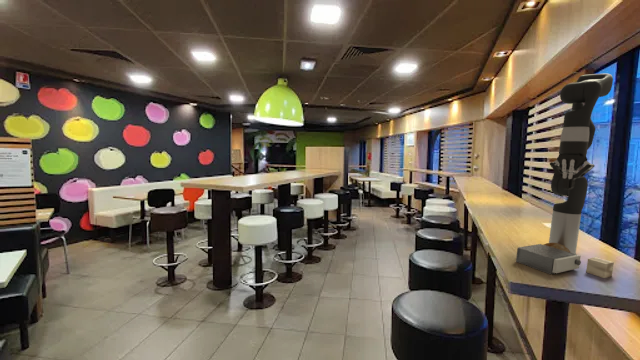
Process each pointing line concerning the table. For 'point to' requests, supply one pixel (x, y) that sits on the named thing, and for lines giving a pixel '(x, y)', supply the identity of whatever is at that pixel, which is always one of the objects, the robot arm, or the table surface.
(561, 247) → the bread roll
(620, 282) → the table surface
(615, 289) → the table surface
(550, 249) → the player housing
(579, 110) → the robot arm
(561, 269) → the tray
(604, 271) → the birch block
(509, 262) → the table surface
